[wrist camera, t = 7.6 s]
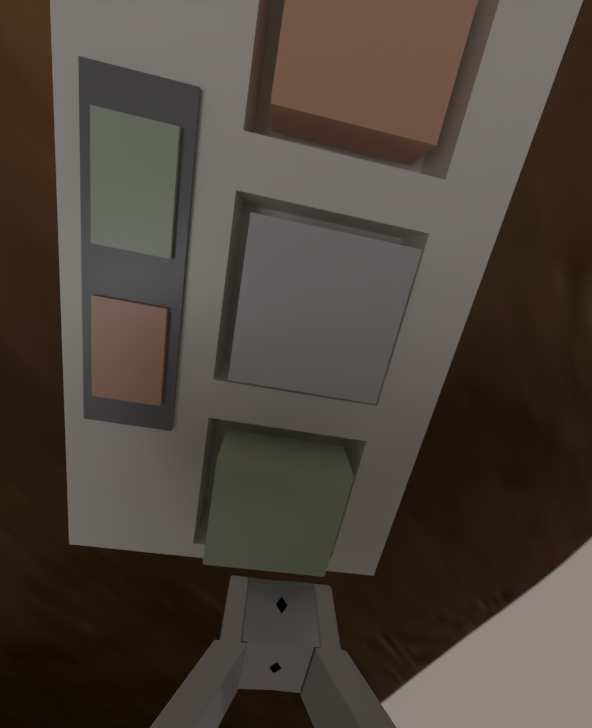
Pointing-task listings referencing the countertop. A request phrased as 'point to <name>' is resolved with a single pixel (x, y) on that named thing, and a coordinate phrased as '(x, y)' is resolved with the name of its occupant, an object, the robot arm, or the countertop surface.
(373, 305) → the grey key
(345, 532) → the keypad
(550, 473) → the countertop surface
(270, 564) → the sage key
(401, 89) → the terracotta key
